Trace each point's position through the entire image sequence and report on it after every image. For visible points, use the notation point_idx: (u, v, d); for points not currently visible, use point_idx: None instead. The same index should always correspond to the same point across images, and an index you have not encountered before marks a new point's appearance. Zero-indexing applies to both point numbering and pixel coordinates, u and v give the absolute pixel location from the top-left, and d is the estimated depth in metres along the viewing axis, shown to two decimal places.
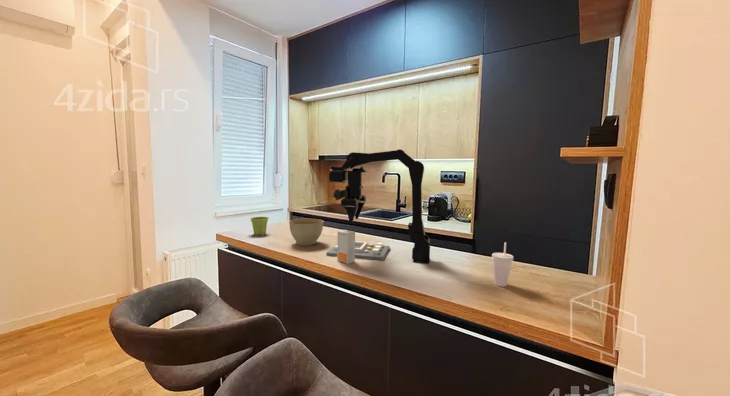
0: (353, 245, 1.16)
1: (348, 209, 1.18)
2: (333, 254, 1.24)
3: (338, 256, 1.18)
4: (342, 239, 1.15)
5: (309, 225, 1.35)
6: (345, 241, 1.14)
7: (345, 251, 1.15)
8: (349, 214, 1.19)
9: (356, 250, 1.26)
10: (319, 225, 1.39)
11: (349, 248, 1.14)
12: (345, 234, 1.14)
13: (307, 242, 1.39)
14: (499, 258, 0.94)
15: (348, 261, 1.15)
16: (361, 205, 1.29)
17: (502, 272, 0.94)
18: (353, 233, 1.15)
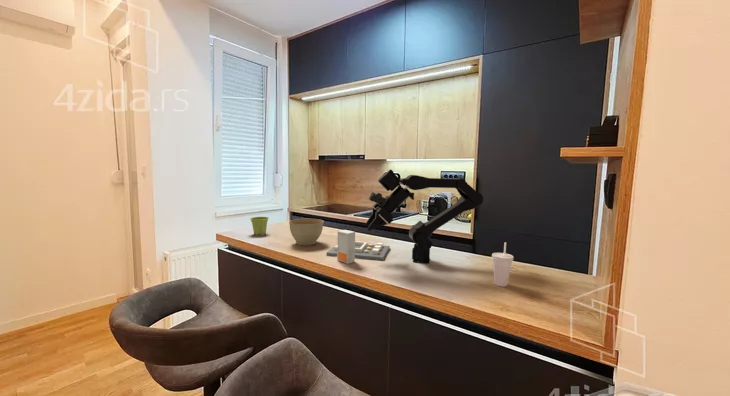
0: (353, 245, 1.16)
1: (377, 219, 1.11)
2: (333, 254, 1.24)
3: (338, 256, 1.18)
4: (342, 239, 1.15)
5: (309, 225, 1.35)
6: (345, 241, 1.14)
7: (345, 251, 1.15)
8: (374, 223, 1.11)
9: (356, 250, 1.26)
10: (319, 225, 1.39)
11: (349, 248, 1.14)
12: (345, 234, 1.14)
13: (307, 242, 1.39)
14: (499, 258, 0.94)
15: (348, 261, 1.15)
16: None
17: (502, 272, 0.94)
18: (353, 233, 1.15)
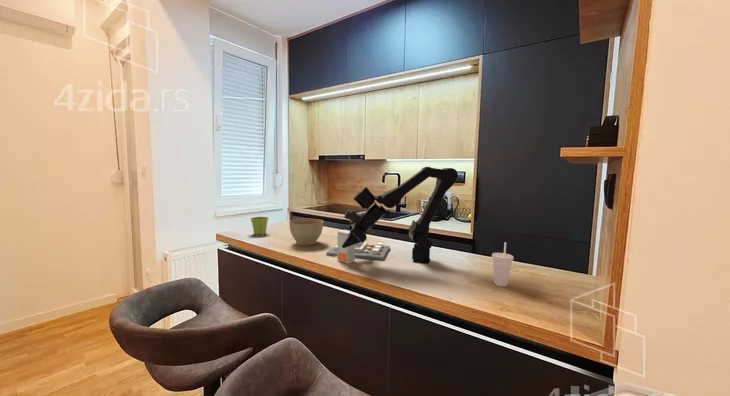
0: (353, 245, 1.16)
1: (351, 236, 1.12)
2: (333, 254, 1.24)
3: (338, 256, 1.18)
4: (342, 239, 1.15)
5: (309, 225, 1.35)
6: None
7: (345, 251, 1.15)
8: (348, 241, 1.12)
9: (356, 250, 1.26)
10: (319, 225, 1.39)
11: (349, 248, 1.14)
12: (345, 234, 1.14)
13: (307, 242, 1.39)
14: (499, 258, 0.94)
15: (348, 261, 1.15)
16: None
17: (502, 272, 0.94)
18: None
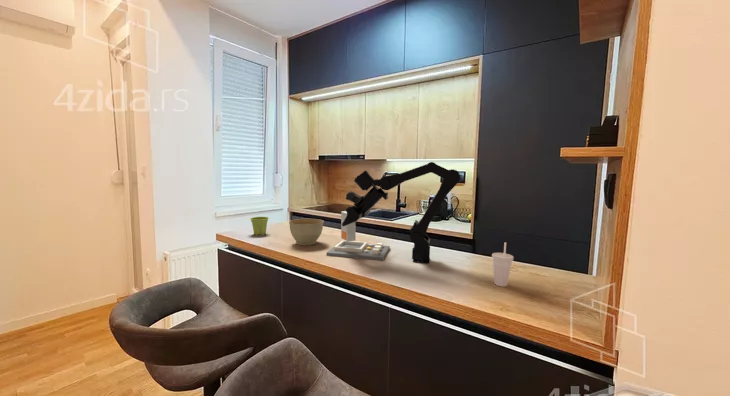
0: (353, 225, 1.25)
1: (349, 216, 1.21)
2: (333, 254, 1.24)
3: (341, 234, 1.28)
4: (344, 218, 1.25)
5: (309, 225, 1.35)
6: None
7: (345, 230, 1.24)
8: (346, 219, 1.21)
9: (356, 250, 1.26)
10: (319, 225, 1.39)
11: (348, 227, 1.24)
12: (345, 214, 1.24)
13: (307, 242, 1.39)
14: (499, 258, 0.94)
15: (348, 239, 1.24)
16: None
17: (502, 272, 0.94)
18: None
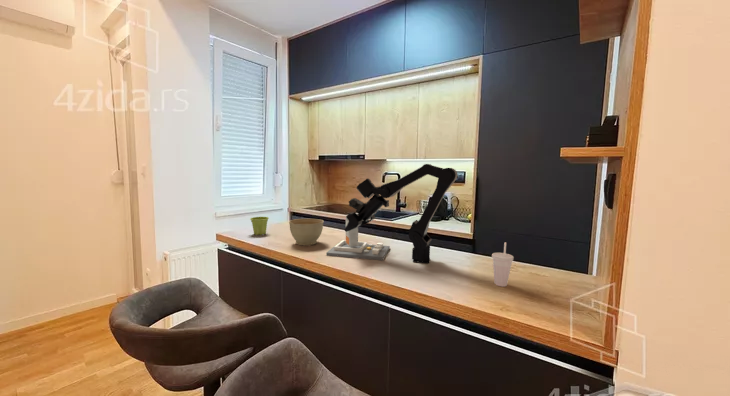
0: (356, 231, 1.29)
1: None
2: (333, 254, 1.24)
3: (346, 239, 1.33)
4: None
5: (309, 225, 1.35)
6: None
7: (348, 235, 1.30)
8: (348, 225, 1.27)
9: (356, 250, 1.26)
10: (319, 225, 1.39)
11: (351, 233, 1.29)
12: (348, 220, 1.29)
13: (307, 242, 1.39)
14: (499, 258, 0.94)
15: (350, 244, 1.29)
16: (364, 222, 1.33)
17: (502, 272, 0.94)
18: None
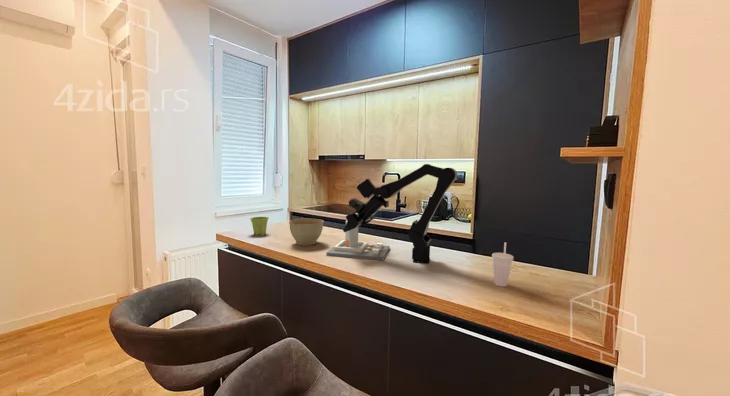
0: (356, 234, 1.29)
1: (349, 222, 1.25)
2: (333, 254, 1.24)
3: (345, 242, 1.34)
4: None
5: (309, 225, 1.35)
6: None
7: (348, 238, 1.30)
8: (347, 226, 1.26)
9: (356, 250, 1.26)
10: (319, 225, 1.39)
11: (351, 236, 1.29)
12: None
13: (307, 242, 1.39)
14: (499, 258, 0.94)
15: (350, 247, 1.29)
16: (364, 222, 1.34)
17: (502, 272, 0.94)
18: None
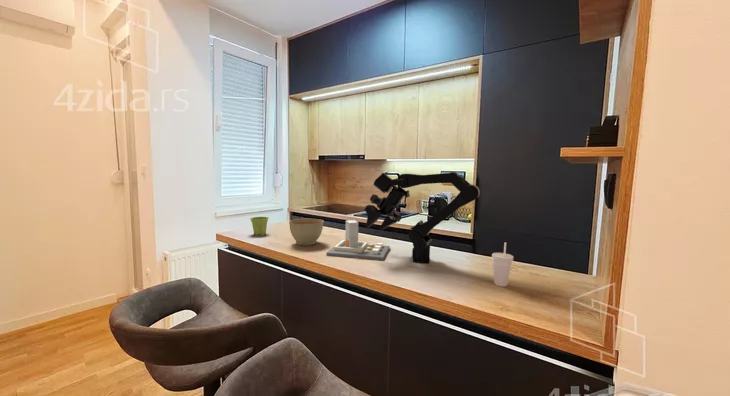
0: (356, 234, 1.29)
1: (369, 216, 1.22)
2: (333, 254, 1.24)
3: (345, 243, 1.34)
4: (347, 227, 1.30)
5: (309, 225, 1.35)
6: (348, 230, 1.29)
7: (348, 238, 1.30)
8: (368, 221, 1.23)
9: (356, 250, 1.26)
10: (319, 225, 1.39)
11: (351, 236, 1.29)
12: (348, 223, 1.29)
13: (307, 242, 1.39)
14: (499, 258, 0.94)
15: (350, 247, 1.29)
16: (390, 222, 1.29)
17: (502, 272, 0.94)
18: (356, 223, 1.29)
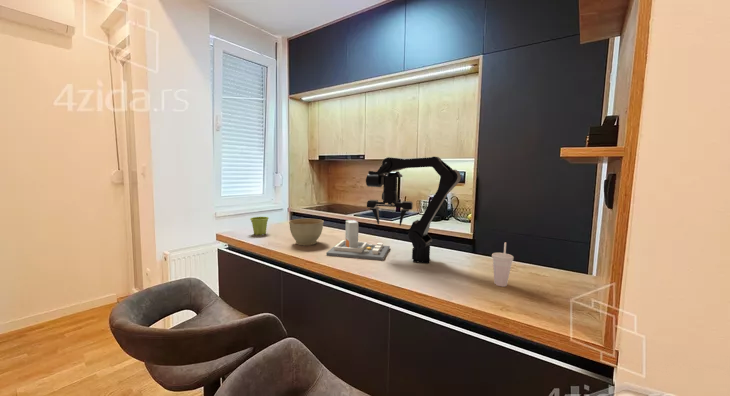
0: (356, 234, 1.29)
1: None
2: (333, 254, 1.24)
3: (345, 243, 1.34)
4: (347, 227, 1.30)
5: (309, 225, 1.35)
6: (348, 230, 1.29)
7: (348, 238, 1.30)
8: None
9: (356, 250, 1.26)
10: (319, 225, 1.39)
11: (351, 236, 1.29)
12: (348, 223, 1.29)
13: (307, 242, 1.39)
14: (499, 258, 0.94)
15: (350, 247, 1.29)
16: (401, 212, 1.22)
17: (502, 272, 0.94)
18: (356, 223, 1.29)
